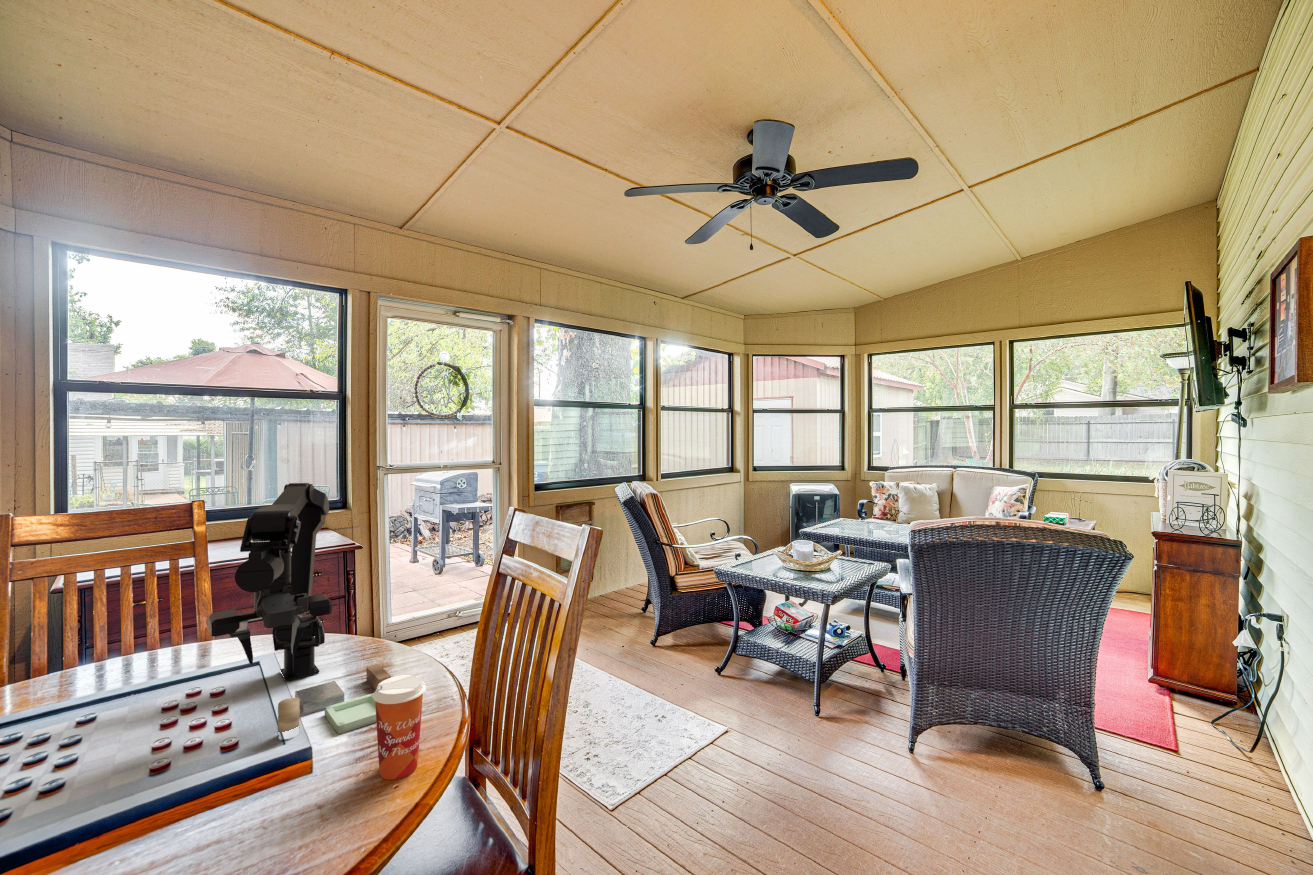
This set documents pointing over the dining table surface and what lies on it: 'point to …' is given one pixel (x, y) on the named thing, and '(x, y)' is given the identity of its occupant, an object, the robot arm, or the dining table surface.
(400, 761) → the paper cup
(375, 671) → the block
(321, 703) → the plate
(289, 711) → the dowel
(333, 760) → the dining table surface
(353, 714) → the tray
